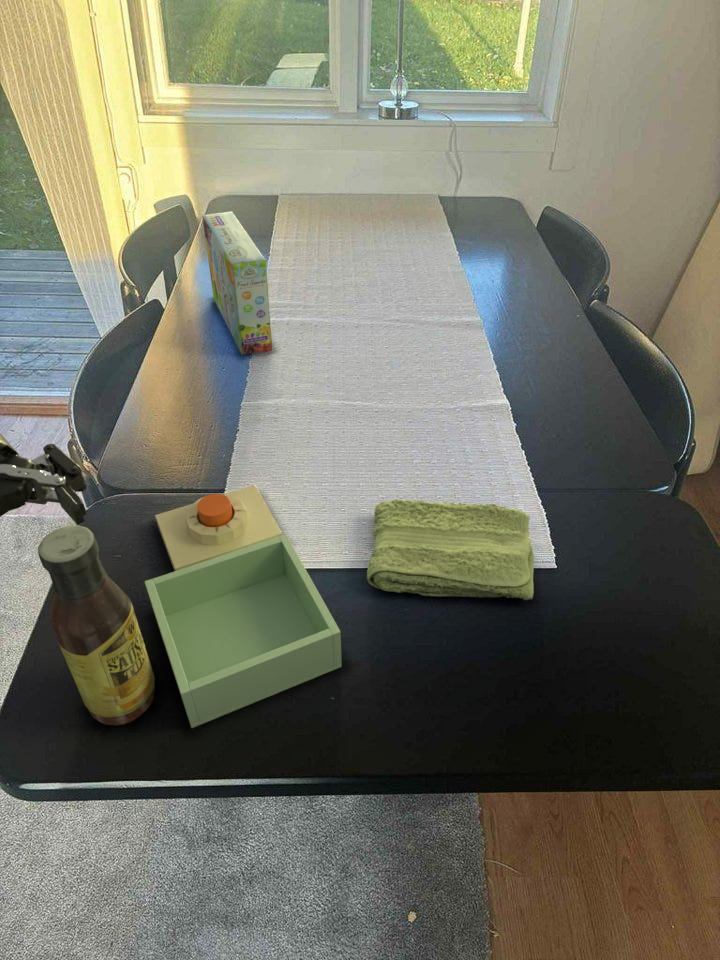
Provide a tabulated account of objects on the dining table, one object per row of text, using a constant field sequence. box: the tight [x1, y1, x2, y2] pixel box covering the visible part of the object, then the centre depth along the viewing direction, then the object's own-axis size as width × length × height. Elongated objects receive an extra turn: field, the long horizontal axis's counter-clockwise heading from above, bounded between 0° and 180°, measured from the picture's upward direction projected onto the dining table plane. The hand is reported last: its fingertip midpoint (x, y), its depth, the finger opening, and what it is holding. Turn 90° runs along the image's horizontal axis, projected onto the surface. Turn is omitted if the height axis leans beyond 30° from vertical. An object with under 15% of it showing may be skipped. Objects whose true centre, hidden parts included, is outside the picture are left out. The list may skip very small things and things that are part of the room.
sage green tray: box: [144, 533, 343, 729], centre depth 67 cm, size 15×14×6 cm
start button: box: [197, 493, 232, 527], centre depth 77 cm, size 4×4×2 cm
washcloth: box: [366, 499, 535, 601], centre depth 76 cm, size 13×18×3 cm
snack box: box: [201, 210, 273, 356], centre depth 112 cm, size 21×6×15 cm, turn 22°
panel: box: [154, 484, 283, 572], centre depth 78 cm, size 12×9×4 cm
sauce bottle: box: [37, 524, 156, 726], centre depth 58 cm, size 7×6×20 cm
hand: (33, 539), depth 62 cm, fingers open, 8 cm apart
